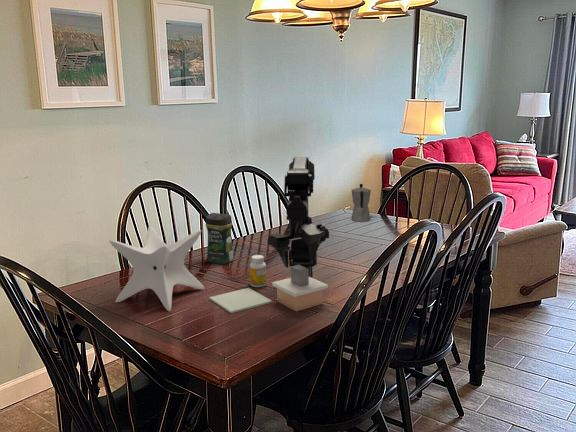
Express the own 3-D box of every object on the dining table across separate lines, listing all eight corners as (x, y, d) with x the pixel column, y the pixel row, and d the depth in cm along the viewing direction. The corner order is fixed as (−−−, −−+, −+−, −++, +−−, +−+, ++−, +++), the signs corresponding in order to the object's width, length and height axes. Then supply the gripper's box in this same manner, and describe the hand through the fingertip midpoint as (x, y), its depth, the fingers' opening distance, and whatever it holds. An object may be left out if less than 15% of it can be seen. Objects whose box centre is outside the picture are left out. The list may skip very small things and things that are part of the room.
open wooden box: (303, 293, 173) (303, 278, 172) (323, 303, 165) (323, 287, 164) (277, 301, 167) (276, 285, 166) (296, 311, 159) (295, 295, 158)
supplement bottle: (248, 283, 183) (247, 255, 181) (263, 281, 185) (262, 253, 183) (253, 288, 178) (252, 259, 176) (268, 286, 180) (267, 257, 178)
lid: (304, 277, 173) (304, 259, 172) (327, 288, 163) (327, 268, 162) (272, 285, 166) (271, 266, 165) (294, 296, 157) (294, 277, 155)
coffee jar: (204, 262, 207) (201, 214, 202) (215, 256, 214) (213, 210, 209) (225, 265, 202) (223, 216, 198) (236, 259, 209) (234, 212, 205)
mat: (248, 289, 177) (248, 287, 177) (271, 302, 166) (271, 300, 166) (209, 299, 170) (209, 297, 170) (231, 313, 159) (230, 311, 158)
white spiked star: (154, 282, 186) (149, 225, 182) (204, 289, 179) (201, 230, 174) (114, 303, 168) (109, 240, 164) (169, 311, 161) (164, 246, 156)
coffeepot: (350, 216, 277) (351, 181, 273) (369, 216, 276) (370, 181, 272) (351, 224, 262) (352, 187, 258) (371, 224, 261) (372, 187, 257)
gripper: (287, 223, 148) (288, 278, 152) (341, 213, 158) (340, 265, 162) (265, 216, 157) (267, 267, 161) (317, 207, 167) (318, 256, 171)
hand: (299, 264), depth 163 cm, fingers open, 9 cm apart
